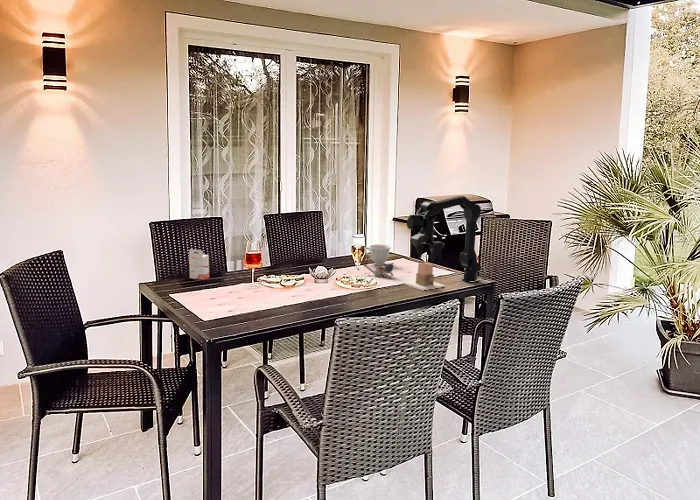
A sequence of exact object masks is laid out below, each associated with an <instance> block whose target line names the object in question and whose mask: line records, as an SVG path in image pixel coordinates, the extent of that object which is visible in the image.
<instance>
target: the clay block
mask: <svg viewBox="0 0 700 500" xmlns="http://www.w3.org/2000/svg"><path fill="white" fill-rule="evenodd" d="M417 267H418V268H417V273H418V274H421V275H424V276H426V275H432V274H434V273H433V271H434V270H433V269H434V264H433V263H430V262H427V261H426V262H420V263H419V262H418V265H417Z"/></svg>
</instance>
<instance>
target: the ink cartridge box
mask: <svg viewBox="0 0 700 500" xmlns="http://www.w3.org/2000/svg"><path fill="white" fill-rule="evenodd" d="M188 250H189V254H188V258H189V259H188V262H189V266H188V267H189V279H193V280H198V281H199V280H201V281H205V280H208V279H210V260H209V259H210V257H209V256H210V255H209V254H204V251H203V250H200V249H193V248H192V249H191V248H190V249H188Z"/></svg>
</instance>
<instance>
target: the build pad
mask: <svg viewBox="0 0 700 500" xmlns="http://www.w3.org/2000/svg"><path fill="white" fill-rule="evenodd" d="M404 285H405V286H409V287H410V288H414V289H416V290H418V289H419V291H421V290H422V291H421V292H425V291H424V290H427V291H430V290H429V289H433V290H436V289H435V288H439V289H442V288H441V287H445V288H446V285H445V284H442V283H439V282H436V281H434V282H433V285H427V286H422V285H420V284H417V283H416V280H410V281H405V282H404Z"/></svg>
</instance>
